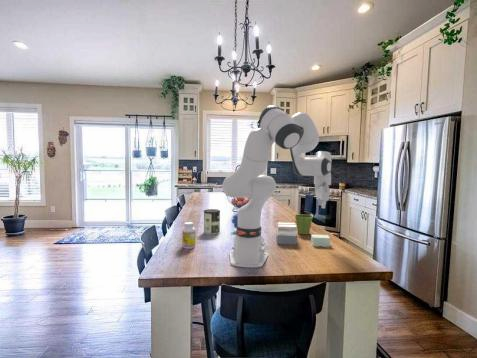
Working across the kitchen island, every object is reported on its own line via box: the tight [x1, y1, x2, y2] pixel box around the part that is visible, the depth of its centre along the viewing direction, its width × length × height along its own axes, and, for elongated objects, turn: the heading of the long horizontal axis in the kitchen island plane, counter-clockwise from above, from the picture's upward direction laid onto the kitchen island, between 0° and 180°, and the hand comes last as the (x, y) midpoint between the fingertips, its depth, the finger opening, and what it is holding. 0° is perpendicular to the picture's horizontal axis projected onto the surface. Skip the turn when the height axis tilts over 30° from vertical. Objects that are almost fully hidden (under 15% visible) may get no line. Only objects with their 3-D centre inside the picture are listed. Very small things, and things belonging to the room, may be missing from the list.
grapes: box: [231, 212, 238, 228], centre depth 174 cm, size 12×7×12 cm, turn 98°
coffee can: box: [203, 208, 221, 236], centre depth 169 cm, size 10×10×14 cm
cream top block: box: [277, 221, 298, 236], centre depth 153 cm, size 10×10×5 cm
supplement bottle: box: [181, 221, 196, 250], centre depth 140 cm, size 7×7×13 cm
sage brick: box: [310, 234, 331, 248], centre depth 147 cm, size 6×9×5 cm, turn 84°
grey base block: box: [275, 230, 298, 246], centre depth 153 cm, size 11×11×5 cm
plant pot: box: [294, 213, 314, 235], centre depth 170 cm, size 12×12×11 cm
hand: (321, 206), depth 146 cm, fingers open, 8 cm apart
